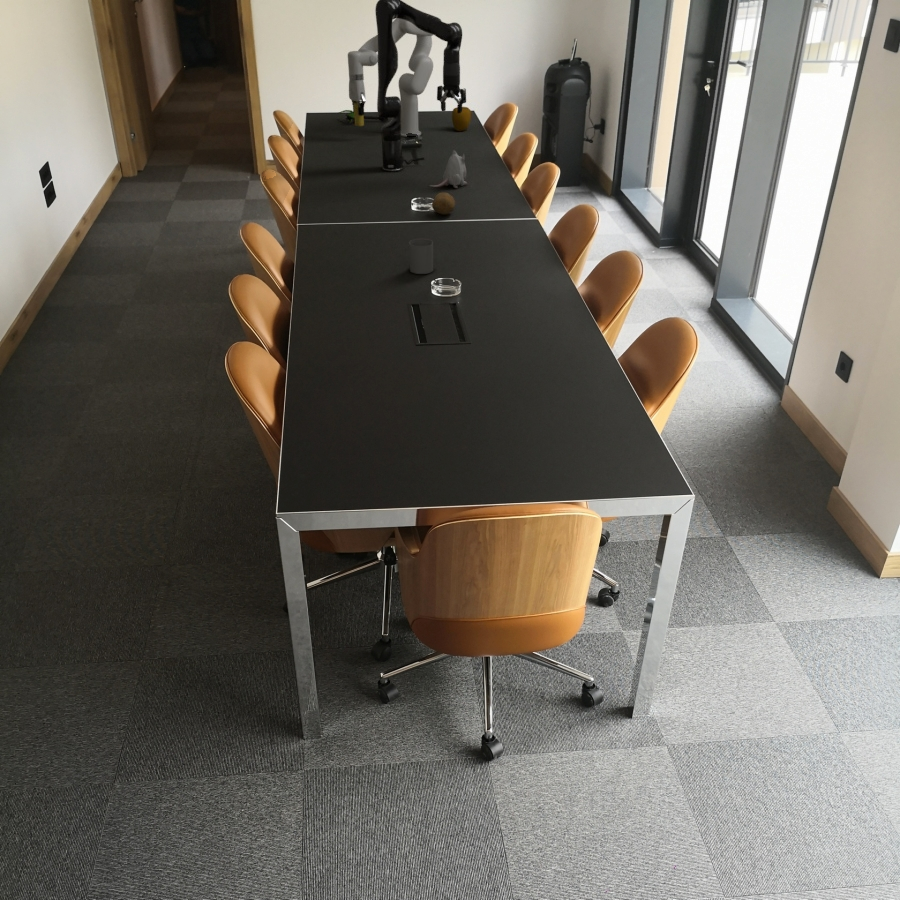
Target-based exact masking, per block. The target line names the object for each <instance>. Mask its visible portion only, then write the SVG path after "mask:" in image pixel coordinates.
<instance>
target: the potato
mask: <svg viewBox="0 0 900 900" xmlns="http://www.w3.org/2000/svg"><path fill="white" fill-rule="evenodd" d="M455 206H456V200H455V198H454V196H452V195H451V194H449V193H448V192H439V193H437V194H436V195H435V197H434V198H433V200H432V201H431V207H432V209H433V210H434V212H436V213H437V214H439V215H441V216H442V215H449V214H450V213H452V212H453V211H454V209H455Z"/></svg>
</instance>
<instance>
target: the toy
mask: <svg viewBox="0 0 900 900" xmlns="http://www.w3.org/2000/svg"><path fill="white" fill-rule="evenodd" d="M466 178H467V168H466V156H465V153H463V154H462V155H459V154H458V153H457V151H456V150H455V149H453V150H452V153H451V155H450V156H449V158H448V161H447V163H446V166H445V170H444V171H443V177H442V179H443V181H442V182H441V183H439V184H436V185H435V184H433V185H432V184H430V185H428V186H429V187H434V188H440V187H443V186H446V187H448V186H449V185H451V186H453V188H455V189H459V187H458V186H461V187H462V186H467V185H468V182H467V181H465V180H466Z"/></svg>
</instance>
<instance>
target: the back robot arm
mask: <svg viewBox="0 0 900 900" xmlns="http://www.w3.org/2000/svg"><path fill="white" fill-rule="evenodd" d="M406 34H407V35H408V34H409V35H414V36H416V42H415V45H414V48H413V50H412V53H411V55H410V57H409V60H408V69H409V70H410V71H411V72H413V73H410V72H406V73H403V74H402V75H400V77H399V79H398V90H399V99H400V101H401V137H404V138H408V137H407V135H406V134H408V133H412V134H417V135H418V136H417V137H420V136H421V135H422V131H420V130H419V97H418V96H419V95H422V94H423V93H424V91H425V90H426V88H427V85H428V84H429V82H430V81H429V80H430V79H431V76H432V74H433V71H434V61H433V58H431V56H430V53H431V51H432V47H433V38H432V37H433V36H434V35H433V34H430V33H427V32H425V31H422V30H420V29H419V28H417V27H416V26H415V25H413V24H412V23H411V22H409V21H407V20H404V19H399V18H395V19H393V21H392V36H393V39H394V42H395V44H397V43H398V42H399V41H400V40H401V39H402V38H403V37H404V36H405V35H406ZM347 65H348V98H349V100H351V105H352V111H353V113H354V103H357V102H358V105H359V107H358V114H359V115H363V116H365V105H366V87H365V82H364V80H365V79H364V78H365V77H364V75H365V74H364V67H374V66H376V65H378V34H376V35H375V36H372V37H370V39H368V40H367V41H366V42H365V43H363V44H362V46H360V47H359V49H358V50H352V51H349V52H348V53H347ZM360 103H361V104H360Z"/></svg>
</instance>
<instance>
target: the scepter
mask: <svg viewBox="0 0 900 900" xmlns="http://www.w3.org/2000/svg"><path fill="white" fill-rule="evenodd" d="M343 113H346V114H345V116H346V117H345V120H348V121H344V120H340V119H337V121H338V122H340V123H342V124H345V125H351V124H353V123H355V118H354V113H353V109H352V110H351V109H345V110H341V111H339V112H337V114H338V115H339V114H343ZM363 117H364V120H379V121H381V122H383V123H385V122H388V121H389V118H380V117H379V116H373V115H371V116H370V115H368V116H367V115H363Z"/></svg>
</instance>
